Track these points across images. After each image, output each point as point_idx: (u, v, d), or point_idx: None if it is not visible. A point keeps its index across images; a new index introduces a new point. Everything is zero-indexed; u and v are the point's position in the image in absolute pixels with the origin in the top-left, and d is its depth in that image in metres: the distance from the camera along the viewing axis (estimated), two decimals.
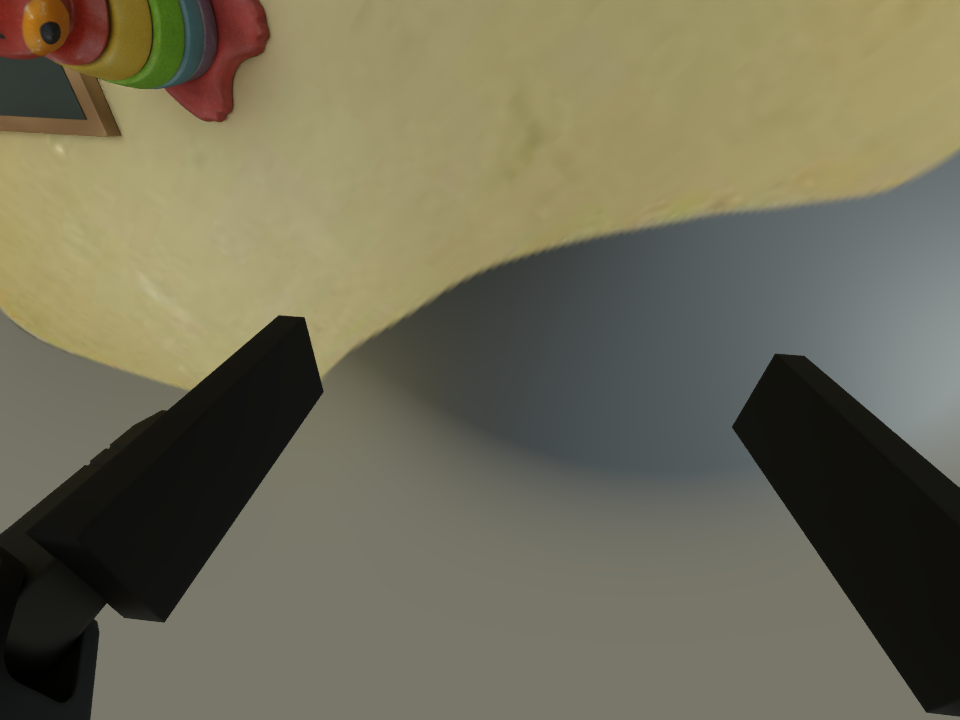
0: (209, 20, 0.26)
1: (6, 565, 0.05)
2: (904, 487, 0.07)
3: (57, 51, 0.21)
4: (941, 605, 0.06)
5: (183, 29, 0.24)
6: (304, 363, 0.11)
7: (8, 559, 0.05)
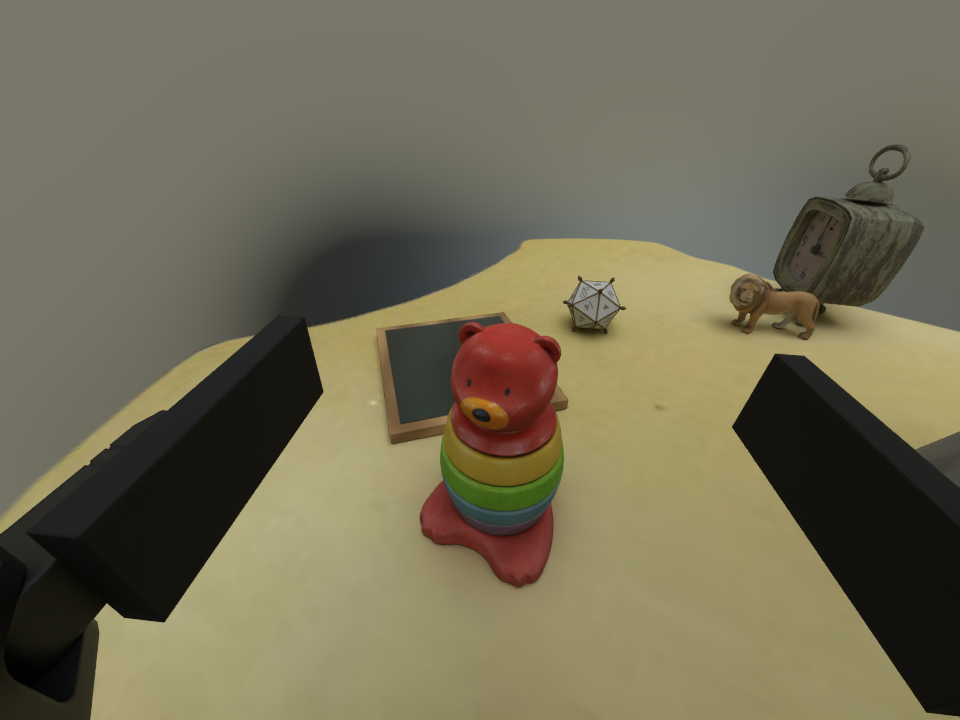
0: (512, 530, 0.27)
1: (6, 565, 0.05)
2: (904, 487, 0.07)
3: (460, 416, 0.24)
4: (941, 605, 0.06)
5: (503, 510, 0.25)
6: (304, 363, 0.11)
7: (8, 559, 0.05)
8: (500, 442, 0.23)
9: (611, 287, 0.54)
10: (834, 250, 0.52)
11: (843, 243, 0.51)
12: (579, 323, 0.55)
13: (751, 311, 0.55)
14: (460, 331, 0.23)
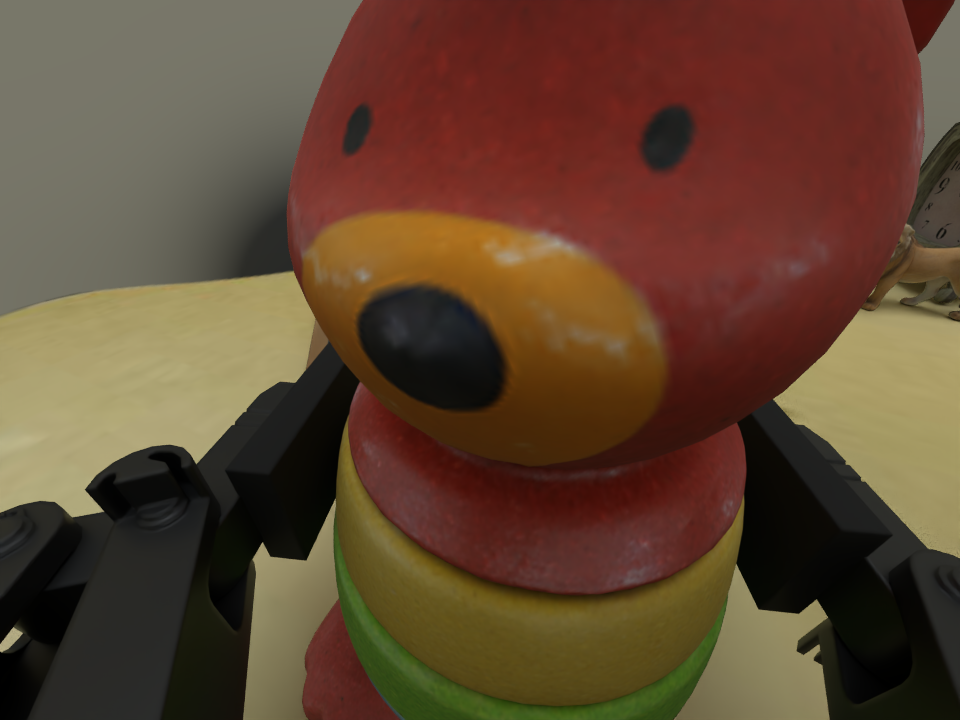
0: None
1: (212, 503, 0.06)
2: (752, 426, 0.08)
3: (375, 397, 0.06)
4: (769, 519, 0.07)
5: None
6: None
7: (212, 498, 0.06)
8: (544, 525, 0.04)
9: None
10: None
11: None
12: None
13: (883, 276, 0.37)
14: None
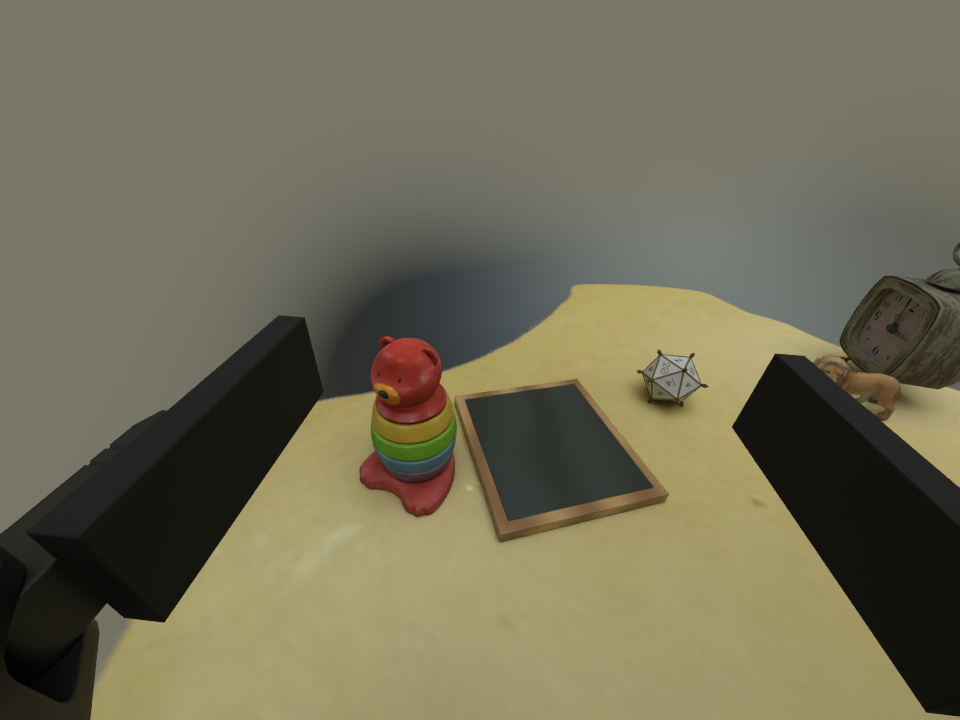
0: (416, 477, 0.39)
1: (6, 565, 0.05)
2: (904, 487, 0.07)
3: (380, 397, 0.37)
4: (941, 605, 0.06)
5: (405, 460, 0.37)
6: (304, 363, 0.11)
7: (8, 559, 0.05)
8: (400, 414, 0.36)
9: (691, 363, 0.54)
10: (919, 336, 0.52)
11: (930, 331, 0.51)
12: (656, 396, 0.55)
13: None
14: (380, 342, 0.36)
